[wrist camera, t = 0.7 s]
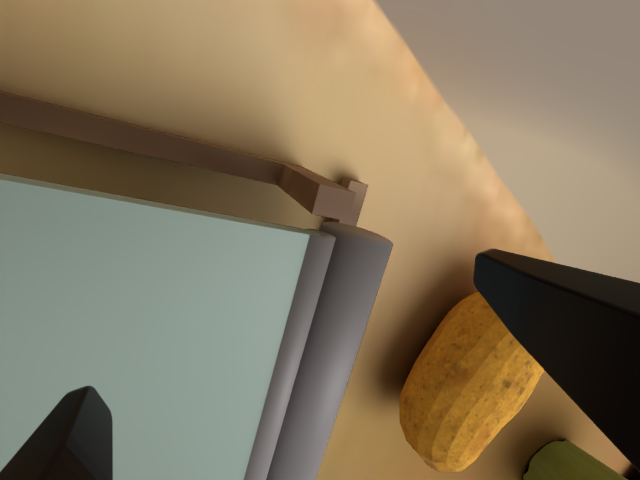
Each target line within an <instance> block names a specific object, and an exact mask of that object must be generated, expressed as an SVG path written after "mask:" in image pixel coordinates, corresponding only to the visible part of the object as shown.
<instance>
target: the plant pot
mask: <svg viewBox="0 0 640 480" xmlns="http://www.w3.org/2000/svg"><path fill="white" fill-rule="evenodd" d="M523 480H628V479H626V478H625V477H623V476H621V475H620V474H618V473H617V472H615V471H614V470H612V469H611V468H609V467H608V466H606V465H605V464H603V463H602V462H600V461H599V460H597V459H595V458H594V457H592V456H591V455H589V454H588V453H586V452H585V451H583V450H582V449H580V448H579V447H577V446H576V445H574V444H573V443H571V442H569V441H567V440H565V441H554V442H551V443H549V444H547V445H546V446H544V447H543V448H542V449H541V450H540V451H539V452H537V453H536V454H535V455H534V456H533V457H532V459H531V461H530V463H529V469H528V472H527V473H525V474H524V477H523Z"/></svg>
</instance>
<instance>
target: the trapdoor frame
mask: <svg viewBox="0 0 640 480" xmlns="http://www.w3.org/2000/svg"><path fill="white" fill-rule="evenodd" d="M0 122H1V123H5V124H10V125H14V126H19V127H23V128H27V129H32V130H36V131H41V132H45V133H49V134H54V135H58V136H63V137H67V138H71V139H76V140H80V141H85V142H89V143H94V144H98V145H102V146H107V147H111V148H116V149H120V150H124V151H129V152H133V153H138V154H142V155H147V156H151V157H155V158H160V159H164V160H169V161H173V162H177V163H182V164H186V165H191V166H195V167H200V168H204V169H208V170H213V171H217V172H222V173H226V174H230V175H235V176H239V177H244V178H248V179H252V180H257V181H261V182H266V183H270V184H275V185H278V186H279V187H280V188H281V189H283V190H284V191H285V192H286V193H287V194H289V195H290V196H291V197H292V198H293V199H295V200H296V201H297V202H298V203H299V204H301V205H302V206H303V207H304V208H306V209H307V210H308V211H309V212H310V213H312V214H315V215H320V216H325V217H330V218H331V222H337V223H343V224H347V225H352V226H355V227H356V224H357V221H358V218H359V214H360V211H361V208H362V205H363V201H364V198H365V195H366V191H367V188H368V185H367V184H364V183H362V182H359V181H355V180H351V179H347V178H343V179H342V183H341V185H339V184H337V183H335V182H333V181H330V180H328V179H326V178H324V177H322V176H320V175H318V174H316V173H314V172H312V171H310V170H308V169H306V168H303V167H300V166H296V165H292V164H288V163H284V162H280V161H276V160H272V159H268V158H264V157H260V156H256V155H252V154H248V153H244V152H240V151H236V150H232V149H228V148H224V147H220V146H216V145H212V144H208V143H205V142H201V141H197V140H193V139H189V138H185V137H181V136H177V135H173V134H169V133H165V132H161V131H157V130H153V129H149V128H145V127H141V126H137V125H133V124H129V123H125V122H121V121H117V120H114V119H110V118H106V117H102V116H98V115H94V114H90V113H86V112H82V111H78V110H74V109H70V108H66V107H62V106H58V105H54V104H50V103H46V102H42V101H38V100H34V99H30V98H26V97H23V96H19V95H15V94H11V93H7V92H3V91H0Z"/></svg>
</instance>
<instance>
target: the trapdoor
mask: <svg viewBox="0 0 640 480" xmlns="http://www.w3.org/2000/svg"><path fill="white" fill-rule="evenodd" d="M392 247H393V243H392V242H391V241H390V240H388V239H386V238H385V237H383V236H381V235H378V234H376V233H373V232H371V231H368V230H365V229H362V228H359V227H355V226H352V225H347V224H343V223H337V222H323V223H321V226H320V230H314V229H300V228H295V227H290V226H284V225H279V224H273V223H268V222H262V221H257V220H252V219H246V218H241V217H235V216H230V215H224V214H219V213H214V212H208V211H203V210H197V209H192V208H186V207H181V206H176V205H170V204H165V203H159V202H154V201H148V200H143V199H138V198H132V197H127V196H121V195H116V194H110V193H105V192H100V191H94V190H89V189H83V188H78V187H72V186H67V185H62V184H56V183H51V182H45V181H40V180H34V179H29V178H23V177H18V176H13V175H7V174H2V173H0V471H1V470H2V469H3V468H4V467H5V465H6V464H7V463H8V462H9V461H10V460H11V458H12V457H13V456H14V455H15V454H16V452H17V451H18V450H19V449H20V448H21V446H22V445H23V444H24V443H25V442H26V441H27V439H28V438H29V437H30V436H31V435H32V433H33V432H34V431H35V430H36V429H37V427H38V426H39V425H40V424H41V423H42V422H43V420H44V419H45V418H46V417H47V416H48V414H49V413H50V412H51V411H52V410H53V408H54V407H55V406H56V405H57V404H58V403H59V401H60V400H61V399H62V398H63V397H64V396H65V395H66V394H67V393H68V392H70V391H72V390H75V389H78V388H81V387H84V386H93V387H94V388H95V389H96V390H97V392H98V393H99V395H100V396H101V398H102V399H103V400H104V402H105V403H106V405H107V406H108V407H109V409H110V411H111V414H112V420H113V480H316V477H317V474H318V471H319V468H320V465H321V462H322V459H323V456H324V453H325V450H326V447H327V444H328V441H329V438H330V435H331V432H332V429H333V426H334V423H335V420H336V417H337V414H338V411H339V408H340V404H341V401H342V398H343V395H344V392H345V389H346V386H347V383H348V380H349V377H350V374H351V371H352V368H353V365H354V362H355V359H356V356H357V353H358V350H359V347H360V344H361V341H362V338H363V335H364V332H365V329H366V326H367V322H368V319H369V316H370V313H371V310H372V307H373V304H374V301H375V298H376V295H377V292H378V289H379V286H380V283H381V280H382V277H383V274H384V271H385V268H386V265H387V262H388V259H389V256H390V253H391V250H392Z"/></svg>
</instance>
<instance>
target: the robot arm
mask: <svg viewBox="0 0 640 480" xmlns="http://www.w3.org/2000/svg"><path fill="white" fill-rule="evenodd" d="M473 280H474V284H475V287H476V288H477V290H478V291H479V293H480V294H481V295H482V297H483V298H484V299H485V300H486V302H487V303H488V304H489V306H490V307H491V308H492V310H493V311H494V312H495V313H496V315H497V316H498V317H499V319H500V320H501V321H502V323H503V324H504V325H505V327H506V328H507V329H508V330H509V332H510V333H511V334H512V335H513V336H514V338H515V339H516V340H517V341H518V342H519V343H520V344H521V345H522V346H523V348H524V349H525V350H526V351H527V352H528V353H529V354H530V355H531V356H532V357H533V358H534V359H535V360H536V361H537V363H538V364H539V365H540V366H541V367H542V368H543V369H544V370H545V371H546V372H547V373H548V374H549V375H550V376H551V378H552V379H553V380H554V381H555V382H556V383H557V384H558V385H559V386H560V387H561V388H562V389H563V390H564V391H565V393H566V394H567V395H568V396H569V397H570V398H571V399H572V400H573V401H574V402H575V403H576V404H577V405H578V406H579V408H580V409H581V410H582V411H583V412H584V413H585V414H586V415H587V416H588V417H589V418H590V419H591V420H592V421H593V423H594V424H595V425H596V426H597V427H598V428H599V429H600V430H601V431H602V432H603V433H604V434H605V435H606V436H607V438H608V439H609V440H610V441H611V442H612V443H613V444H614V445H615V446H616V447H617V448H618V449H619V450H620V451H621V453H622V454H623V455H624V456H625V457H626V458H627V459H628V460H629V461H630V462H631V463H632V464H633V465H634V467H635V468H636V469H637V470H638V471H639V472H640V283H637V282H633V281H628V280H624V279H620V278H616V277H611V276H607V275H603V274H599V273H595V272H590V271H586V270H581V269H578V268H574V267H569V266H565V265H560V264H557V263H552V262H548V261H544V260H540V259H535V258H531V257H527V256H523V255H519V254H514V253H510V252H506V251H502V250H497V249H488V250H485V251H483V252H480V253H478V254H477V255H476V258H475V267H474V277H473ZM0 480H113V420H112V414H111V411H110V409H109V407H108V406H107V405H106V403H105V402H104V400H103V399H102V398H101V396H100V395H99V393H98V392H97V390H96V389H95V388H94V387H93V386H84V387H81V388H78V389H75V390H72V391H70V392H68V393H67V394H66V395H65V396H64V397H63V398H62V399H61V400H60V401H59V403H58V404H57V405H56V406H55V407H54V408H53V410H52V411H51V412H50V413H49V414H48V416H47V417H46V418H45V419H44V420H43V422H42V423H41V424H40V425H39V426H38V427H37V429H36V430H35V431H34V432H33V433H32V435H31V436H30V437H29V438H28V439H27V441H26V442H25V443H24V444H23V445H22V446H21V448H20V449H19V450H18V451H17V452H16V454H15V455H14V456H13V457H12V458H11V460H10V461H9V462H8V463H7V464H6V465H5V467H4V468H3V469H2V470H1V471H0Z"/></svg>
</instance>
